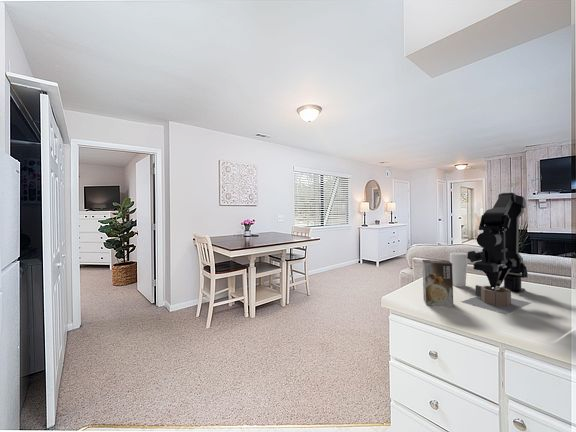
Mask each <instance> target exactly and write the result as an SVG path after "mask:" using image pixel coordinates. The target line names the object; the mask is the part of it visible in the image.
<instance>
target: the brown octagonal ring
mask: <svg viewBox="0 0 576 432" xmlns="http://www.w3.org/2000/svg"><path fill="white" fill-rule="evenodd" d="M497 287H498V286H497ZM502 287H503V286H499V287H498V288H500V290H497V292H495V291H494V290H493V289H491V286H490V285H483V286H482V285H477V284H476V285H475V297H476V296H479V297H481V300H482V301H483V302H484V303H487V304H490V305H494V306H505V307H506V306H510V305H511V298H512V291H510V290H508V289H507V288H502Z"/></svg>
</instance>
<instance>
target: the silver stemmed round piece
mask: <svg viewBox="0 0 576 432" xmlns="http://www.w3.org/2000/svg"><path fill="white" fill-rule="evenodd" d="M497 285H500V286H501V285H502V284H501V280H500V279H499V280H498V282H497ZM497 285H496V287H495V288H491V289H493V290H494V291H495V292H497V290H500V288H498V286H497Z"/></svg>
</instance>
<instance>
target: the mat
mask: <svg viewBox="0 0 576 432" xmlns="http://www.w3.org/2000/svg"><path fill="white" fill-rule="evenodd" d="M460 302H461V303H463V304H467V305H470V306H472V307H473V306H474V307H477V308H482V309H484V310H485V309H486V310H488V311H492V312H496V313H499V314H503V315H508V314H509V313H510V314H511V313H512V312H515V311H517V310H518V309H521V308H523V307H525V306H528V305H530V304H531V302H528V301H525V300H521V299H516V298H512V297H511V305H510V306H506V307H505V306H494V305H490V304H487V303H484V302H483V301H482V300H481V297H479V296H476V295H475V296H474V297H472V298H468V299H465V300H462V301H460Z"/></svg>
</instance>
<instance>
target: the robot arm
mask: <svg viewBox="0 0 576 432" xmlns="http://www.w3.org/2000/svg"><path fill="white" fill-rule="evenodd" d="M526 206H527V201H526V199H525V197H524V196H521V195H518V194H516V193H515V192H502V193H499V194H498V196H497V199H496V202H495V204H494V205H493V207H492V208H489V209H487V210H485V212H483V214H482V215H481V217H480V221H479V225H478V230H479V231H483V232H480V233H479V234H478V235H477V236H476V243H477V244H478V245H479V246H480V247H481V248H482V250H481V251H478V252H476V251H475V250H471V251H468V252H467V260H469V261H470V263H473V270H475V271H481V272H483V273H484V274H485V275H486V278H487V281H488V284H489V286H491V288H495V287H496V285H497V282H498V280H499V279H500V280H501V285H502V284H503V286H501V285H497V287H502V288H507V289H508V290H510V291H511V292H514V293H515V292H516V293H521V292H523V291H525V290H526V289H525V288H523V287H522V278H523V279H524V278H525V279H526V278H528V269H527V266H526V263H524V258H523V257H522V255H521V254H520V253H519V230H520V229H519V225H520V224H519V223H520V222H519V220H520V217H521V216H522V215H523V214H524V213H525V209H526Z"/></svg>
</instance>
